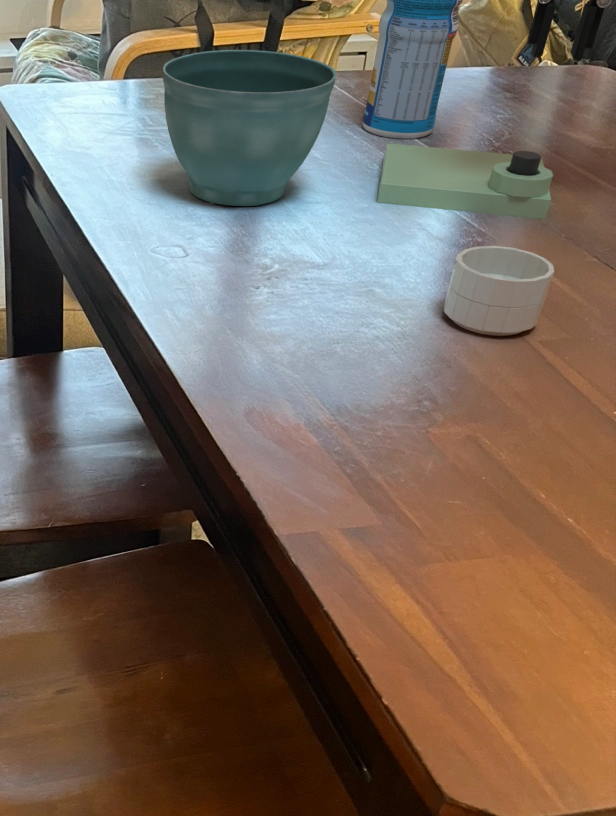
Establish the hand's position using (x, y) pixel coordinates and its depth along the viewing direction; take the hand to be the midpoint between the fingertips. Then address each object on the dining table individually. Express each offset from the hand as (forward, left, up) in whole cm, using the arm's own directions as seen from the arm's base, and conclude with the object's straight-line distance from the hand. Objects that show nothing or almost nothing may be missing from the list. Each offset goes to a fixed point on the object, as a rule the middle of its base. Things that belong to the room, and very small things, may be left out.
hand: (556, 53), depth 94 cm
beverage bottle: (+12, -24, -13) cm, 30 cm away
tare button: (0, 0, -10) cm, 10 cm away
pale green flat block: (+5, -4, -13) cm, 15 cm away
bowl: (+3, +29, -13) cm, 32 cm away
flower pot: (+27, +4, -13) cm, 30 cm away
